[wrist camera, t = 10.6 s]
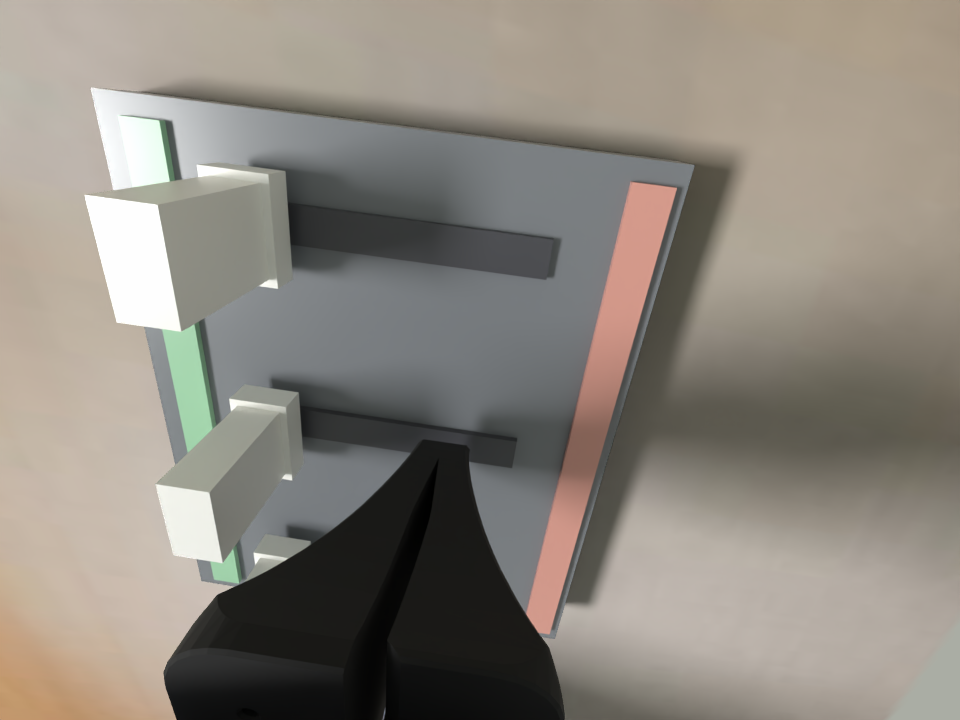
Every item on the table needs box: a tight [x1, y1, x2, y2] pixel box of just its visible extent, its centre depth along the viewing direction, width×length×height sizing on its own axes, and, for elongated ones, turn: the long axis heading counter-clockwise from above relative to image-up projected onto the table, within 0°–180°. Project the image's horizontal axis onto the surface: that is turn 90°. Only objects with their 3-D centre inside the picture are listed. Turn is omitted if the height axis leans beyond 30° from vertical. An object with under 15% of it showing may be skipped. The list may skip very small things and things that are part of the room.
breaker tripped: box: [156, 385, 304, 563], centre depth 13 cm, size 3×2×4 cm, turn 174°
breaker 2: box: [245, 534, 311, 582], centre depth 15 cm, size 3×2×4 cm, turn 174°
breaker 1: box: [85, 162, 293, 332], centre depth 10 cm, size 3×2×4 cm, turn 173°
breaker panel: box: [91, 88, 695, 639], centre depth 15 cm, size 17×14×2 cm
